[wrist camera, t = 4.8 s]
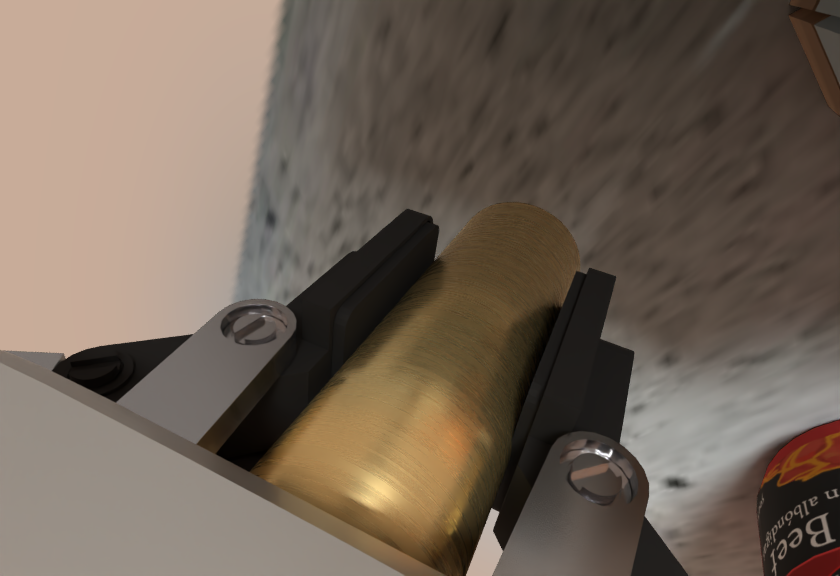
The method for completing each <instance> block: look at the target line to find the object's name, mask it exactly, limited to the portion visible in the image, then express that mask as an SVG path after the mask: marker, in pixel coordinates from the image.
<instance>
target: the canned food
mask: <svg viewBox="0 0 840 576" xmlns="http://www.w3.org/2000/svg"><path fill="white" fill-rule="evenodd" d="M757 519H758V528H759V537H760V545H761V554H762V563H763V571H764V576H840V420H838V421H835V422H832V423H828V424H825V425H822V426H819V427H816V428H813V429H812V430H810V431H808V432H806V433H804V434H802V435H800V436H798V437H796V438H794V439H793V440H792V441H791V442H789V443H788V444H787V445H786V446H784V447H783V448H782V449H781V450H779V452H778V453H777V454H776V456H775V457H774V458H773V459H772V461H771V462H770V463H769V465H768V468H767V470H766V473H765V475H764V478H763V481H762V484H761V487H760V490H759V492H758V496H757Z"/></svg>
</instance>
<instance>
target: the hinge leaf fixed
mask: <svg viewBox="0 0 840 576" xmlns="http://www.w3.org/2000/svg"><path fill="white" fill-rule="evenodd" d="M819 2H820V0H791V2H790V4H789V5H792V6H796V7H800V8H801V9H799V10H797V11H796V12H794V13H792V14H790V15H789V18H790V20H791V22H792V25H793V27H794V29H795V32H796V34H797V36H798V38H799V41H800V43H801V45H802V48H803V50H804V52H805V54H806V57H807V59H808V61H809V63H810V66H811V68H812V70H813V73H814V75H815V77H816V79H817V82H818V84H819V86H820V88H821V91H822V93H823V95H824V98H825V100H826V102H827V104H828V106H829V107H830V108H831V109H832V110H833V111H834V112H835V113H836V114H838V115H839V116H840V84H839V82H838V79H837V77H836V75H835V72H834V70H833V68H832V65H831V63H830V61H829V59H828V56H827V54H826V52H825V49H824V47H823V45H822V42H821V40H820V38H819V35H818V33H817V31H816V28H815V26H814V25H815V24H816V23H818V22H820V21H822V20H824V19H826V18H827V17H829V16H831V15H829V14H825V13H821V12H817V11H815V10H816V8H817V6H818V4H819Z"/></svg>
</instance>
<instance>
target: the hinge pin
mask: <svg viewBox="0 0 840 576" xmlns="http://www.w3.org/2000/svg"><path fill="white" fill-rule="evenodd" d="M576 271H578V272H580V256H579V251H578V248H577V245H576V242H575V240H574V238H573V236H572V235H571V233H570V232H569V230H568V229H567V228H566V227H565V226H564V225H563V223H562V222H561V221H559V220H558V219H557V218H556V217H555V216H553V215H552V214H550V213H549V212H547V211H545V210H543V209H541V208H539V207H536V206H533V205H530V204H526V203H519V202H505V203H499V204H495V205H492V206H489V207H487V208H485V209H483V210H482V211H480V212H478V213H477V214H476V215H475V216H474V217H472V219H471V220H470V221H469V222H468V223H467V224H466V225H465V227H464V228H463V229H462V230H461V231H460V232H459V233H458V235H457V236H456V237H455V238H454V239H453V240H452V241H451V243H450V244H449V245H448V246H447V247H446V248H445V249H444V251H443V252H442V253H441V254H440V255H439V256H438V257H437V259H436V260H435V261H434V262H433V263H432V264H431V265H430V266H429V268H428V269H427V270H426V271H425V272H424V273H423V274H422V276H421V277H420V278H419V279H418V280H417V281H416V282H415V284H414V285H413V286H412V287H411V288H410V289H409V290H408V292H407V293H406V294H405V295H404V296H403V297H402V298H401V300H400V301H399V302H398V303H397V304H396V305H395V306H394V308H393V309H392V310H391V311H390V312H389V313H388V314H387V316H386V317H385V318H384V319H383V320H382V321H381V322H380V323H379V325H378V326H377V327H376V328H375V329H374V330H373V331H372V333H371V334H370V335H369V336H368V337H367V338H366V339H365V341H364V342H363V343H362V344H361V345H360V346H359V347H358V349H357V350H356V351H355V352H354V353H353V354H352V355H351V357H350V358H349V359H348V360H347V361H346V362H345V363H344V365H343V366H342V367H341V368H340V369H339V370H338V371H337V373H336V374H335V375H334V376H333V377H332V378H331V379H330V380H329V382H328V383H327V384H326V385H325V386H324V387H323V388H322V390H321V391H320V392H319V393H318V394H317V395H316V396H315V398H314V399H313V400H312V401H311V402H310V403H309V404H308V406H307V407H306V408H305V409H304V410H303V411H302V412H301V414H300V415H299V416H298V417H297V418H296V419H295V420H294V422H293V423H292V424H291V425H290V426H289V427H288V428H287V430H286V431H285V432H284V433H283V434H282V435H281V436H280V437H279V439H278V440H277V441H276V442H275V443H274V444H273V445H272V447H271V448H270V449H269V450H268V451H267V452H266V453H265V455H264V456H263V457H262V458H261V459H260V460H259V461H258V463H257V464H256V465H255V466H254V467H253V468H252V469H251V471H250V473H252V474H254V475H256V476H258V477H260V478H262V479H263V480H265V481H267V482H269V483H271V484H273V485H275V486H277V487H279V488H281V489H283V490H284V491H286V492H288V493H290V494H292V495H294V496H296V497H298V498H300V499H302V500H304V501H305V502H307V503H309V504H311V505H313V506H315V507H317V508H319V509H321V510H323V511H325V512H326V513H328V514H330V515H332V516H334V517H336V518H338V519H340V520H342V521H344V522H345V523H347V524H349V525H351V526H353V527H355V528H357V529H359V530H361V531H363V532H365V533H366V534H368V535H370V536H372V537H374V538H376V539H378V540H380V541H382V542H384V543H385V544H387V545H389V546H391V547H393V548H395V549H397V550H399V551H400V552H402V553H404V554H406V555H408V556H410V557H412V558H414V559H416V560H417V561H419V562H421V563H423V564H425V565H427V566H429V567H431V568H433V569H434V570H436V571H438V572H440V573H442V574H444V575H446V576H466V574H467V571H468V568H469V566H470V563H471V560H472V558H473V555H474V552H475V550H476V547H477V545H478V542H479V539H480V537H481V534H482V531H483V529H484V526H485V524H486V521H487V518H488V515H489V513H490V510H491V508H492V505H493V502H494V500H495V497H496V495H497V492H498V489H499V487H500V484H501V481H502V479H503V476H504V473H505V471H506V468H507V466H508V463H509V460H510V456H511V451H512V437H513V434H514V431H515V429H516V426H517V423H518V420H519V417H520V414H521V411H522V409H523V406H524V403H525V400H526V397H527V395H528V392H529V389H530V386H531V384H532V381H533V379H534V376H535V374H536V371H537V369H538V366H539V364H540V361H541V358H542V356H543V353H544V351H545V348H546V346H547V343H548V341H549V338H550V336H551V333H552V331H553V328H554V326H555V323H556V321H557V318H558V316H559V313H560V311H561V308H562V306H563V303H564V301H565V298H566V296H567V293H568V290H569V288H570V285H571V283H572V280H573V278H574V275H575V273H576Z"/></svg>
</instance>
